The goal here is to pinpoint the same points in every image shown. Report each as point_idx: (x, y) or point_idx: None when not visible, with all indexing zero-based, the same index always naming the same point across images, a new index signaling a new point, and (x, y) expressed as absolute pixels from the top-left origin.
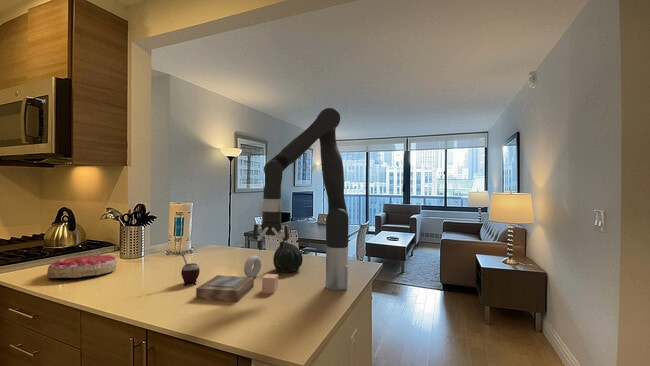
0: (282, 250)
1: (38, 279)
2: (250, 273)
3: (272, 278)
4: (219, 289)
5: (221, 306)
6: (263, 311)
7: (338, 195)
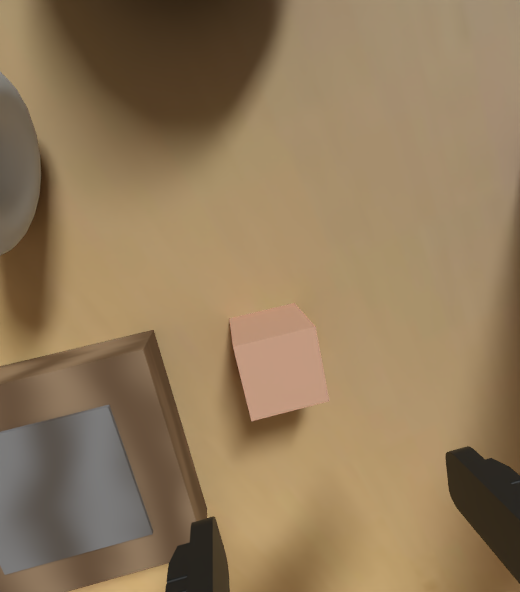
0: (464, 449)
1: None
2: (26, 230)
3: (315, 402)
4: (106, 577)
5: None
6: (352, 528)
7: None
